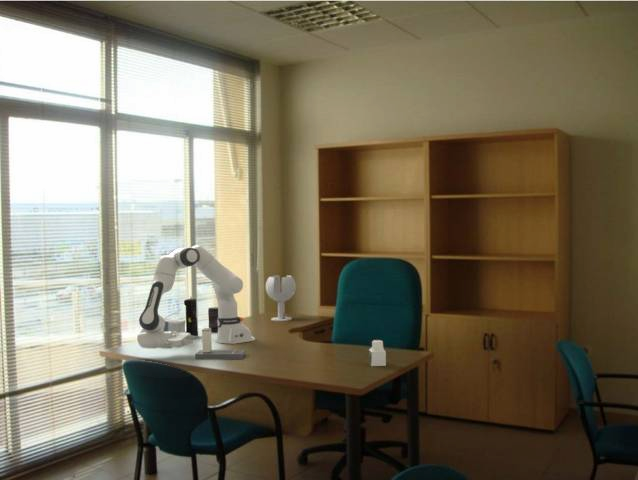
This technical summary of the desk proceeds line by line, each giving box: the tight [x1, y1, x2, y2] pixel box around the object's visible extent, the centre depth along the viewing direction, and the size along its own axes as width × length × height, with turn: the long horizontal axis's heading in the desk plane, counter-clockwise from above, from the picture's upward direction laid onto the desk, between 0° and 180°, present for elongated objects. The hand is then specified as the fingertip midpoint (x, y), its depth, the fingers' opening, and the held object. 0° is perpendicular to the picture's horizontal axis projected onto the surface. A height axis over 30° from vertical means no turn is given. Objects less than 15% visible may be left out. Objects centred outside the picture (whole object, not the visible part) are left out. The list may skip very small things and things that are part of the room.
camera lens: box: [207, 306, 218, 333], centre depth 427 cm, size 8×8×15 cm
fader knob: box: [201, 327, 213, 352], centre depth 354 cm, size 4×5×12 cm
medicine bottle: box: [368, 338, 387, 367], centre depth 330 cm, size 7×7×12 cm
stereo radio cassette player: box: [163, 309, 186, 332], centre depth 393 cm, size 21×8×20 cm, turn 68°
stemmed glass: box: [265, 274, 297, 322], centre depth 470 cm, size 20×20×30 cm
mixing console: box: [194, 349, 246, 360], centre depth 353 cm, size 24×11×3 cm, turn 86°
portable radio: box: [183, 297, 199, 337], centre depth 410 cm, size 8×6×25 cm
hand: (194, 339), depth 354 cm, fingers open, 8 cm apart
